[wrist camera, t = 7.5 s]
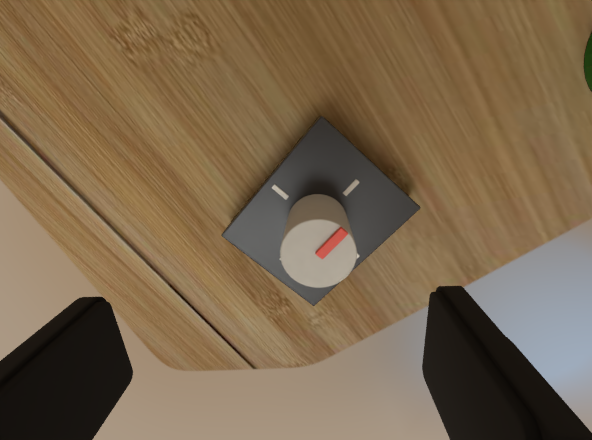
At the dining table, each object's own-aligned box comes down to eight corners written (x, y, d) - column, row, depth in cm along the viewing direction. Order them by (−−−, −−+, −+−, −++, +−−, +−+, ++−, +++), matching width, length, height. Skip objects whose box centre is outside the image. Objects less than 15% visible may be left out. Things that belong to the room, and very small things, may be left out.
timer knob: (319, 260, 24) (321, 304, 18) (275, 224, 23) (263, 260, 18) (359, 220, 22) (374, 254, 17) (314, 181, 22) (314, 204, 16)
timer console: (313, 287, 28) (313, 307, 25) (230, 222, 26) (220, 236, 24) (409, 197, 25) (422, 208, 22) (320, 114, 23) (321, 115, 20)
